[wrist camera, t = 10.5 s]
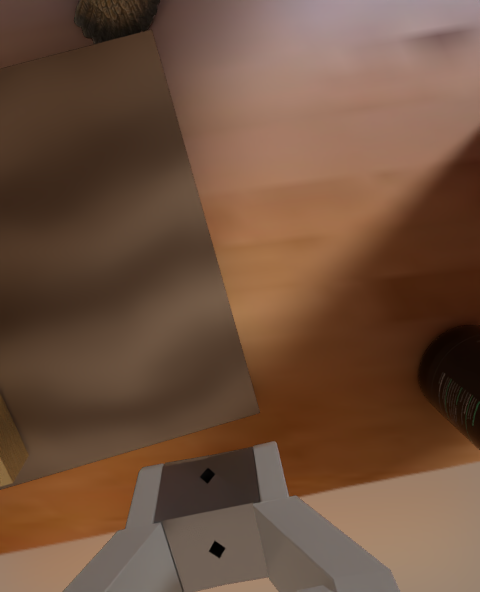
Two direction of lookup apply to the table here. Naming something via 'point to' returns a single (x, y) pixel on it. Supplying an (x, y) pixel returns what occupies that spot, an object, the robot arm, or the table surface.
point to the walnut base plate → (106, 264)
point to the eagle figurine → (114, 18)
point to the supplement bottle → (455, 378)
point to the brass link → (10, 447)
